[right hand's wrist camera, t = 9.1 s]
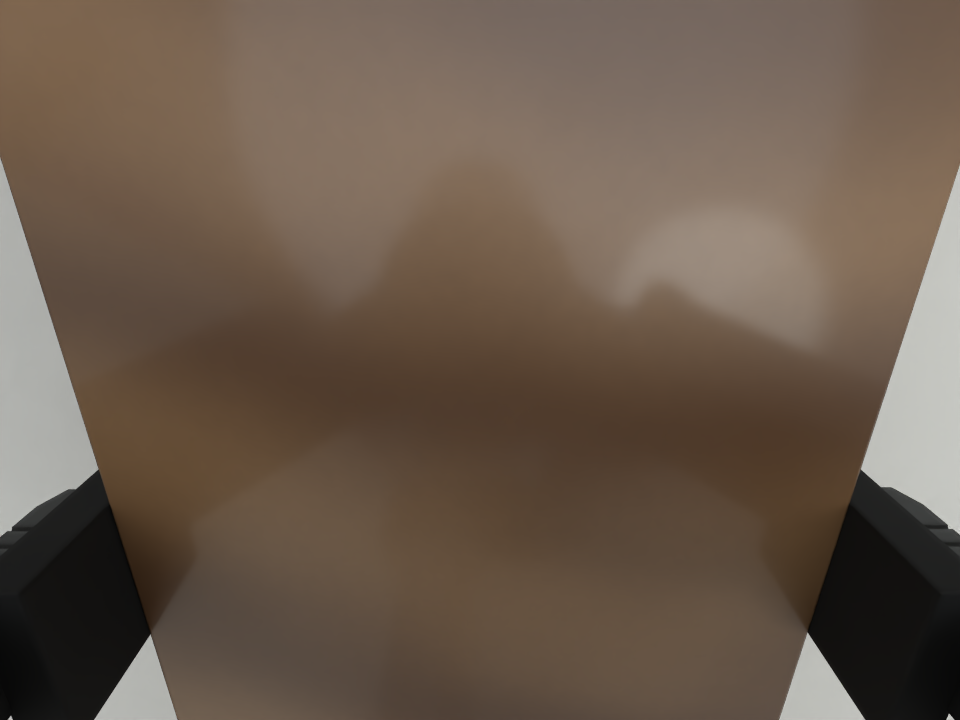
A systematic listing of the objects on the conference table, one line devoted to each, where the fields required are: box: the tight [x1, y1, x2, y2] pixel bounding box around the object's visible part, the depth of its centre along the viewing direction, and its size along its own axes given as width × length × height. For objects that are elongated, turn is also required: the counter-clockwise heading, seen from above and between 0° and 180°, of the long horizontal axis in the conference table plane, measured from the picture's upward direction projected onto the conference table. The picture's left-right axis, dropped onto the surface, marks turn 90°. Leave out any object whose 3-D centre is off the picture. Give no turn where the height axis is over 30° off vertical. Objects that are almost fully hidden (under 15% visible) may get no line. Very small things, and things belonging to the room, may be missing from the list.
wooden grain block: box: [0, 0, 960, 720], centre depth 12 cm, size 15×11×9 cm
